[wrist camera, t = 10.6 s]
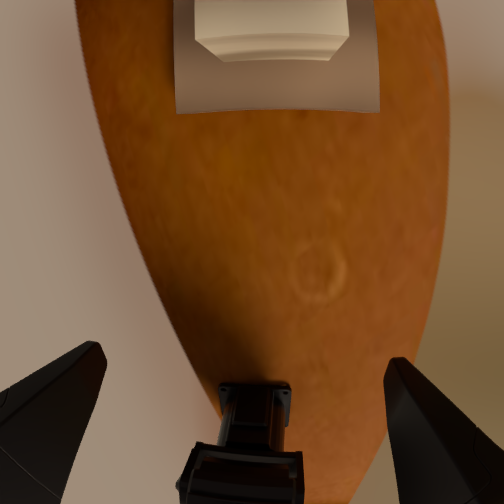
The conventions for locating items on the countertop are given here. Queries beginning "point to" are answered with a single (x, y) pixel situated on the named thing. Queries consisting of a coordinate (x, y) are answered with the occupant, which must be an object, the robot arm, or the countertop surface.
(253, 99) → the base
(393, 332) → the countertop surface
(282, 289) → the countertop surface
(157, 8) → the countertop surface
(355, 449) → the countertop surface
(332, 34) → the block
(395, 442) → the robot arm
